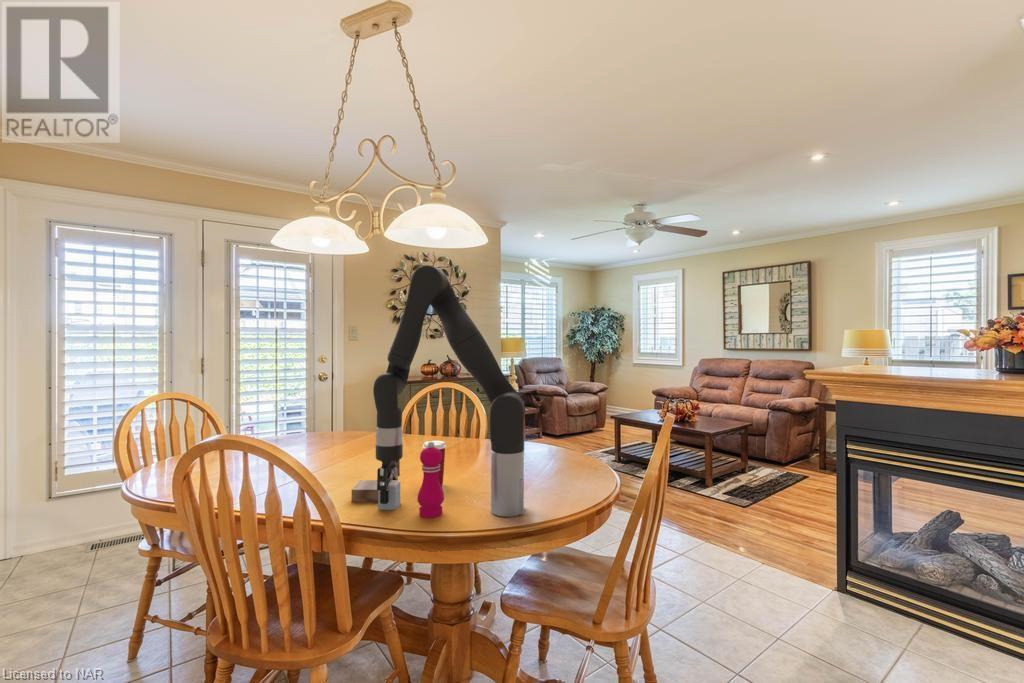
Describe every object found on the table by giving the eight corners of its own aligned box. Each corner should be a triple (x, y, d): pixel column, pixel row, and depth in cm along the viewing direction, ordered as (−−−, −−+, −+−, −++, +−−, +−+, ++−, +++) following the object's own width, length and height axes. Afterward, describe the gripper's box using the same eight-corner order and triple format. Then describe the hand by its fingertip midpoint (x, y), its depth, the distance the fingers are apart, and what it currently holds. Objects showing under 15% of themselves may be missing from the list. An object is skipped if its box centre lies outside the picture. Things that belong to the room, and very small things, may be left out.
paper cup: (449, 482, 162) (449, 441, 161) (440, 490, 154) (440, 446, 154) (428, 480, 164) (428, 439, 164) (417, 487, 156) (417, 444, 156)
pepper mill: (412, 513, 134) (412, 441, 134) (434, 507, 139) (434, 437, 139) (427, 521, 129) (427, 446, 128) (449, 514, 134) (449, 441, 134)
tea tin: (400, 503, 142) (400, 480, 142) (395, 510, 137) (395, 485, 137) (383, 503, 142) (383, 479, 142) (378, 509, 137) (378, 485, 137)
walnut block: (389, 492, 152) (389, 480, 152) (382, 503, 143) (382, 489, 143) (360, 493, 152) (360, 480, 152) (351, 503, 143) (351, 489, 143)
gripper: (395, 448, 132) (394, 507, 132) (408, 437, 146) (407, 490, 146) (368, 447, 132) (367, 506, 132) (383, 436, 146) (383, 490, 147)
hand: (388, 498), depth 139 cm, fingers open, 8 cm apart
